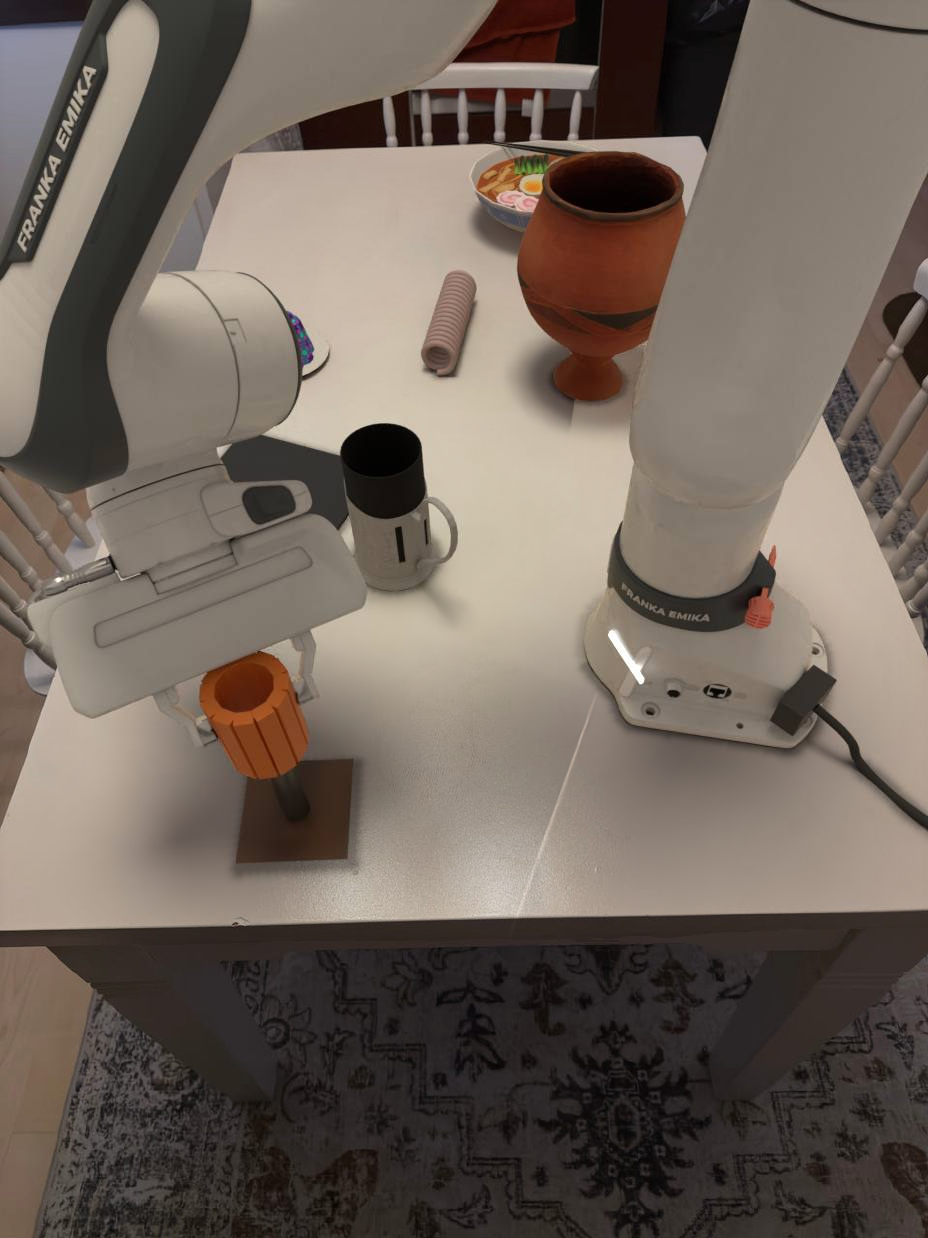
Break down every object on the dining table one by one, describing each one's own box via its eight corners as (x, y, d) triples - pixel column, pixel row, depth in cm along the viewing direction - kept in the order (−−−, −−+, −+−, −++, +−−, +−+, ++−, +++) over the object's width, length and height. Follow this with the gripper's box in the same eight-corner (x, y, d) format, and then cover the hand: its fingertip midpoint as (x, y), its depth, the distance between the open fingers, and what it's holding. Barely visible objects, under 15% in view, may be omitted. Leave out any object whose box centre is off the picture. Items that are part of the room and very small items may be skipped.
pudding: (322, 324, 114) (316, 288, 110) (336, 376, 107) (330, 340, 103) (234, 338, 112) (225, 303, 108) (242, 392, 105) (232, 356, 101)
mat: (379, 468, 96) (378, 465, 96) (304, 581, 86) (303, 577, 86) (244, 432, 101) (243, 429, 100) (158, 535, 91) (157, 532, 90)
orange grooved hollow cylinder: (322, 722, 61) (304, 665, 55) (283, 790, 58) (259, 737, 52) (254, 698, 63) (229, 640, 57) (212, 763, 59) (181, 708, 53)
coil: (457, 348, 103) (479, 269, 113) (419, 342, 103) (445, 263, 113) (454, 379, 106) (476, 300, 117) (418, 373, 106) (443, 294, 117)
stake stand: (354, 765, 73) (337, 702, 65) (349, 864, 68) (329, 810, 60) (252, 768, 73) (222, 706, 65) (239, 868, 68) (204, 815, 60)
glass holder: (399, 516, 92) (386, 405, 80) (490, 587, 85) (490, 479, 73) (337, 558, 88) (313, 449, 76) (426, 636, 82) (415, 530, 70)
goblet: (678, 429, 99) (726, 223, 79) (516, 432, 99) (524, 227, 80) (654, 334, 111) (691, 133, 91) (510, 337, 111) (515, 138, 91)
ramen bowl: (439, 244, 126) (436, 189, 119) (495, 176, 138) (495, 123, 132) (598, 276, 119) (605, 220, 113) (641, 202, 132) (649, 148, 126)
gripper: (3, 591, 49) (102, 800, 51) (327, 474, 54) (404, 668, 56) (24, 588, 55) (112, 775, 57) (314, 482, 60) (384, 658, 62)
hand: (259, 721), depth 57 cm, fingers closed on orange grooved hollow cylinder, 6 cm apart
